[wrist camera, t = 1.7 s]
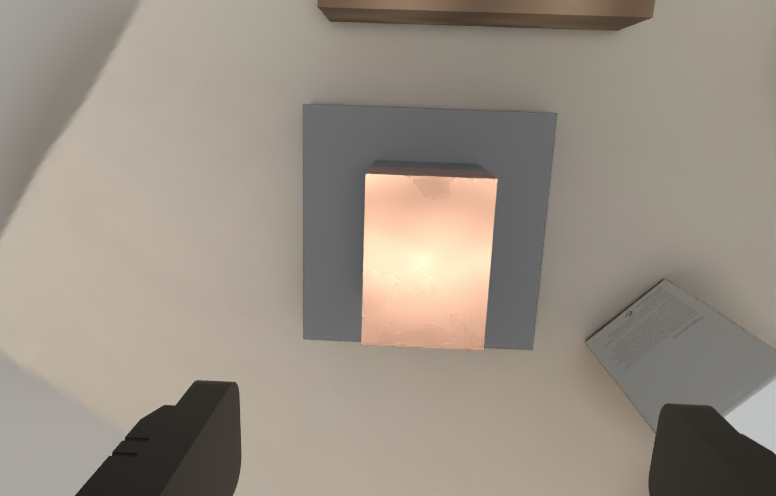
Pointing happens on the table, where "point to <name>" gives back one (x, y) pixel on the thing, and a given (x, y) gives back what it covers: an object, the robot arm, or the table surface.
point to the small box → (690, 362)
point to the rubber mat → (422, 144)
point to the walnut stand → (494, 12)
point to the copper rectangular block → (427, 254)
